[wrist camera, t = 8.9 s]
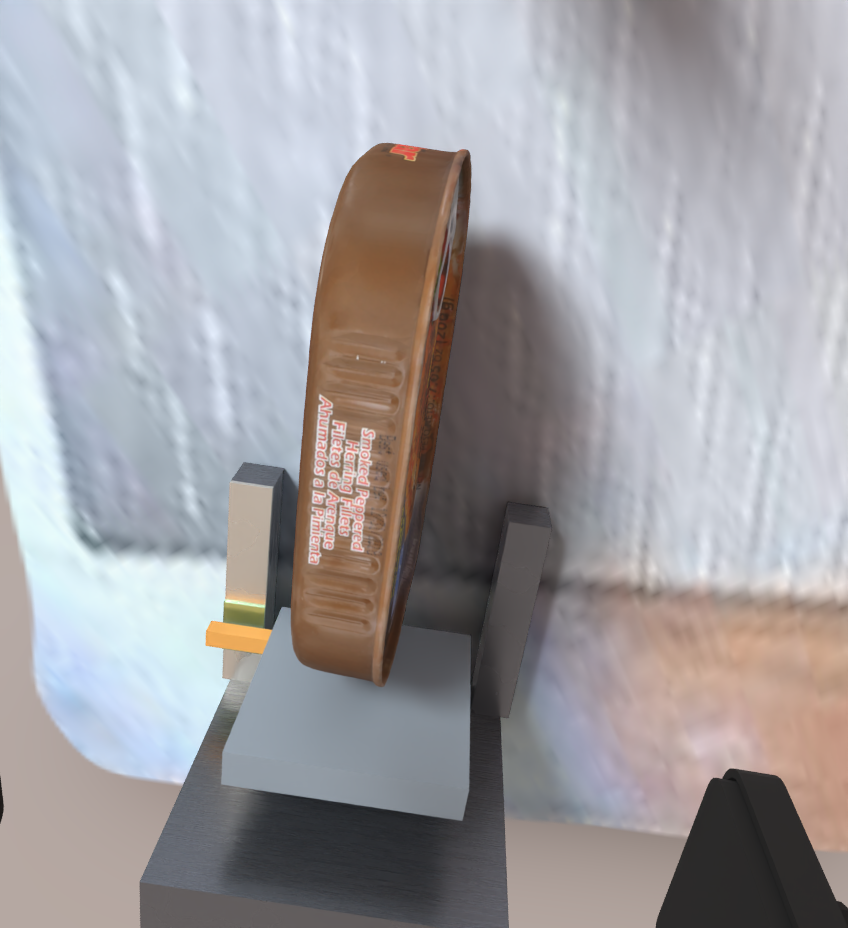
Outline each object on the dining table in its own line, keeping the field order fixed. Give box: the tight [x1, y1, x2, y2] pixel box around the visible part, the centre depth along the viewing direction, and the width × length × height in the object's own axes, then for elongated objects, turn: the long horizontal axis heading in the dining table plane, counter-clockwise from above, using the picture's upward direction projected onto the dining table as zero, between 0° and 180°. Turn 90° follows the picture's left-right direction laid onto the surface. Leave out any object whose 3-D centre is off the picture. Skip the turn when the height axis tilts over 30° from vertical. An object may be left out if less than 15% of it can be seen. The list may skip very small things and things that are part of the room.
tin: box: [291, 143, 471, 687], centre depth 21 cm, size 15×3×8 cm, turn 172°
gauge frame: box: [140, 462, 552, 928], centre depth 24 cm, size 11×10×10 cm
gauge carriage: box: [206, 607, 471, 821], centre depth 25 cm, size 9×1×7 cm, turn 82°
